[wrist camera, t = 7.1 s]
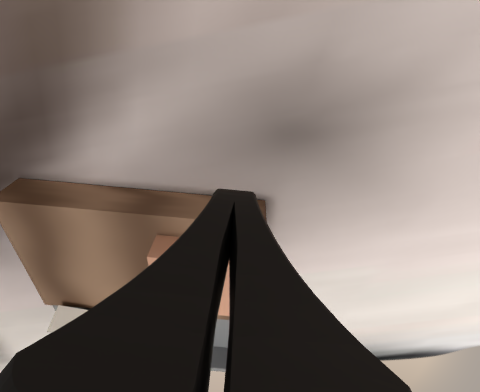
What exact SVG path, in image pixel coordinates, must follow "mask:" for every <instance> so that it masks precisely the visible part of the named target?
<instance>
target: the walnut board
mask: <svg viewBox="0 0 480 392" xmlns="http://www.w3.org/2000/svg"><path fill="white" fill-rule="evenodd" d="M211 197H212V196H209V195H198V194H187V193H176V192H165V191H154V190H143V189H132V188H121V187H110V186H99V185H88V184H77V183H66V182H55V181H44V180H33V179H22V178H19V179H17V180H16V181H14V182H13V183H12V184H10V185H9V186H7V187H6V188H5V189H3V190H2V191H0V224H1V226H2V228H3V229H4V231H5V233H6V235H7V237H8V238H9V240H10V242H11V244H12V246H13V247H14V249H15V251H16V253H17V255H18V256H19V258H20V260H21V262H22V264H23V265H24V267H25V269H26V271H27V273H28V274H29V276H30V278H31V280H32V282H33V284H34V285H35V287H36V289H37V291H38V293H39V294H40V296H41V298H42V300H43V302H44V303H45V304H46V305H57V306H58V305H61V306H69V307H81V308H92V307H94V306H95V305H97V304H98V303H100V302H101V301H102V300H104V299H105V298H107V297H108V296H110V295H111V294H113V293H114V292H116V291H117V290H118V289H120V288H121V287H123V286H124V285H125V284H127V283H128V282H129V281H131V280H132V279H133V278H135V277H136V276H137V275H138V274H139V273H141V272H142V271H143V270H144V269H146V268H147V267H148V261H147V256H148V253H149V251H150V249H151V246H152V244H153V242H154V240H155V237H156V235H165V236H176V237H180V236H181V235H182V234H183V233H184V232H185V231H186V230H187V229H188V227H189V226H190V225H191V224H192V223H193V222H194V220H195V219H196V218H197V217H198V215H199V214H200V213H201V212H202V210H203V209H204V208H205V206H206V205H207V204H208V202H209V201H210V199H211ZM257 202H258V204H259V207H260V209H261V212H262V214H263V216H264V218H265V220H266V208H265V201H264V200H257ZM217 319H222V320H229V316H222V315H218V316H217Z"/></svg>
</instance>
